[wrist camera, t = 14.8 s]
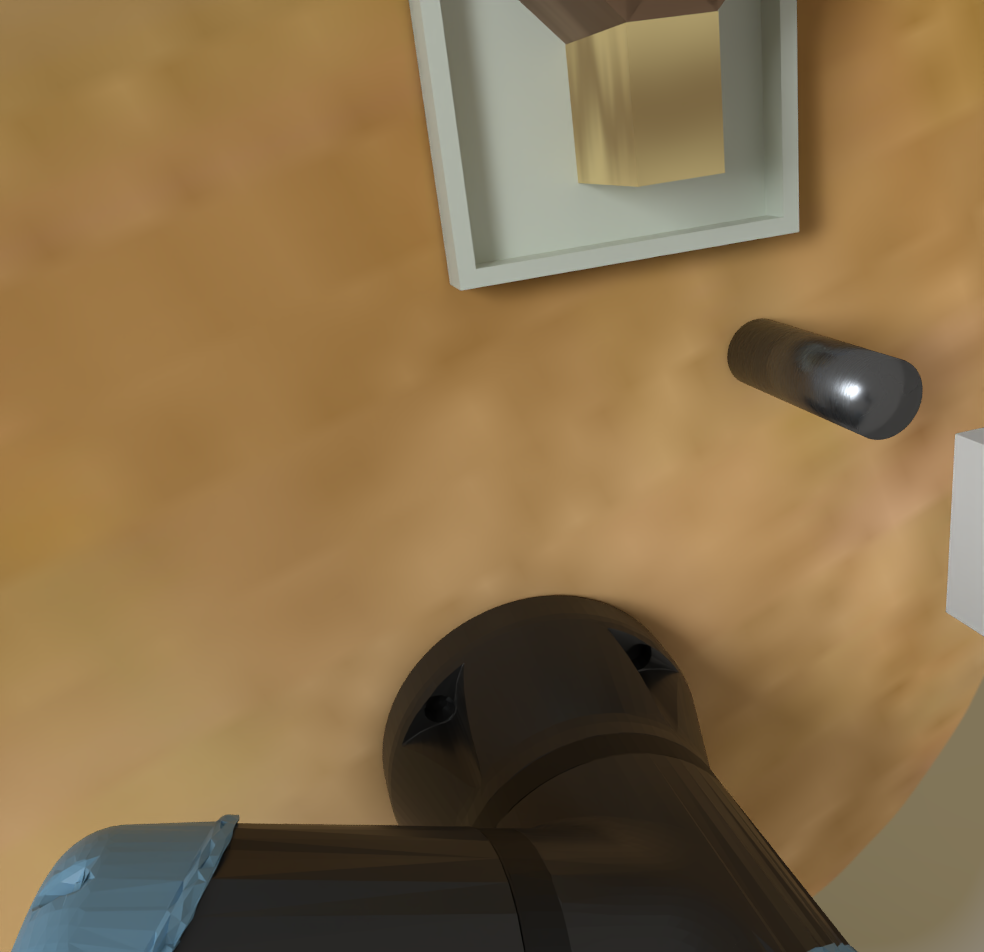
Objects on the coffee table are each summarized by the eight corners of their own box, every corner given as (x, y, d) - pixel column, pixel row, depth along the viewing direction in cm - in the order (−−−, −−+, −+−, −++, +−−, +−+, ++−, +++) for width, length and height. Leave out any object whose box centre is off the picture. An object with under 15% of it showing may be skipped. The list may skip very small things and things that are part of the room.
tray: (773, 228, 39) (799, 231, 38) (450, 284, 37) (460, 290, 35) (762, -294, 33) (793, -320, 31) (369, -273, 30) (376, -301, 28)
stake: (788, 377, 42) (920, 430, 34) (728, 390, 41) (848, 447, 33) (787, 313, 41) (924, 351, 33) (726, 325, 40) (849, 367, 32)
